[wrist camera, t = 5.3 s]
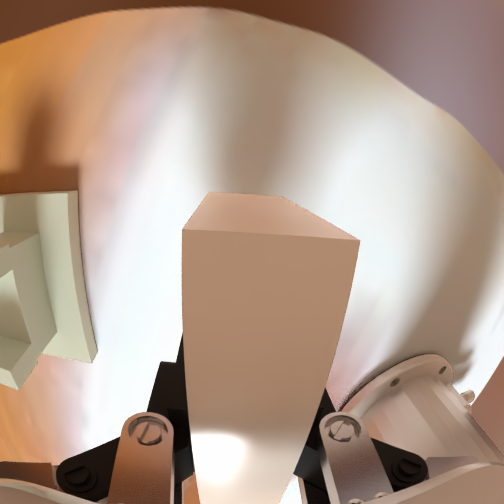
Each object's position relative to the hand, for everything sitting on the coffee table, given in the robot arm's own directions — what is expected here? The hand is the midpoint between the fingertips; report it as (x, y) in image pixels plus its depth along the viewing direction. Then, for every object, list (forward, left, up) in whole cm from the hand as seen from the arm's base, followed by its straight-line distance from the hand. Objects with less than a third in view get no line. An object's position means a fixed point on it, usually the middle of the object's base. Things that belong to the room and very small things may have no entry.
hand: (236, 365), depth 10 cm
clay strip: (0, 0, -1) cm, 1 cm away
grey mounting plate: (+17, -1, -6) cm, 18 cm away
